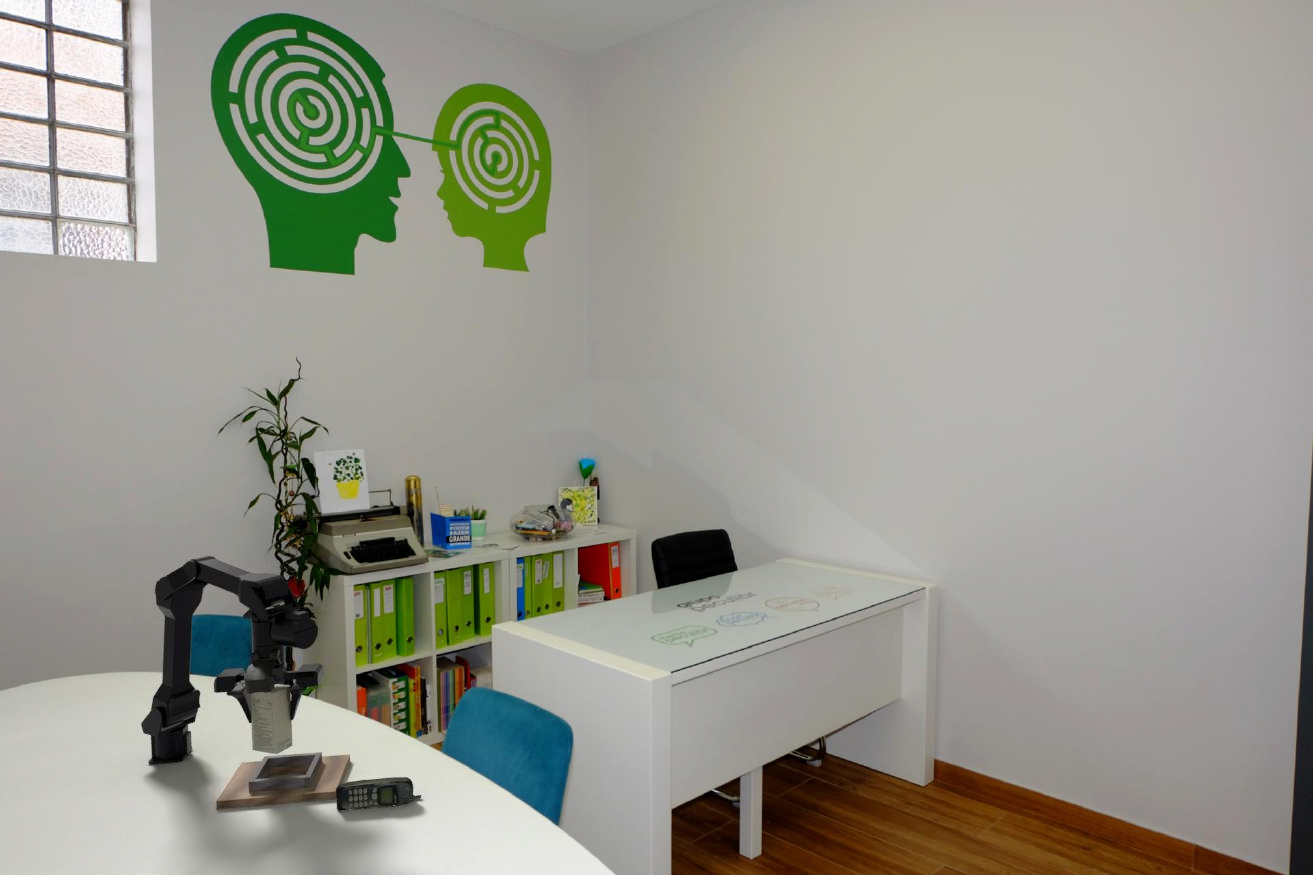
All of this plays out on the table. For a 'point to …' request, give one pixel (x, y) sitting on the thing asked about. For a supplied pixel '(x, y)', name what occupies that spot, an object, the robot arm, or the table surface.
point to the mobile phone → (374, 793)
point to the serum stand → (284, 780)
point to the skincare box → (271, 720)
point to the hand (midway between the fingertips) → (271, 720)
